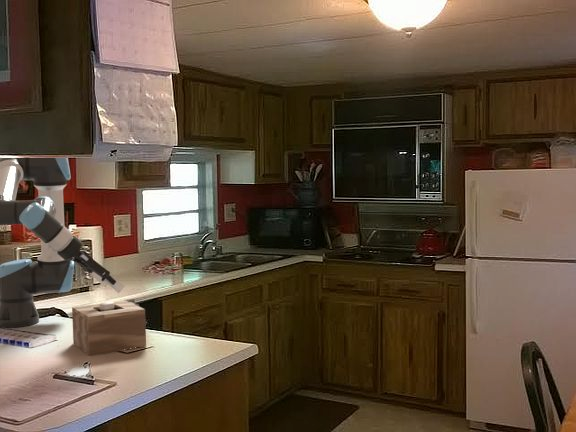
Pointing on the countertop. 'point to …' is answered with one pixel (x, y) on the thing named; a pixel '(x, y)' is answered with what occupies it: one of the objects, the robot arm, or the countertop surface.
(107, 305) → the sprinkles bottle
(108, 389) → the countertop surface
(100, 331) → the walnut drop box
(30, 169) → the robot arm
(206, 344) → the countertop surface
